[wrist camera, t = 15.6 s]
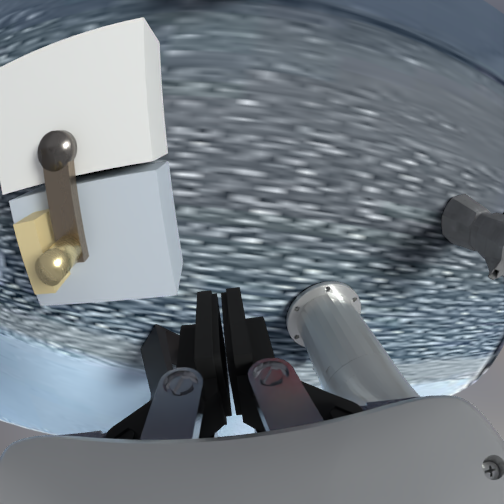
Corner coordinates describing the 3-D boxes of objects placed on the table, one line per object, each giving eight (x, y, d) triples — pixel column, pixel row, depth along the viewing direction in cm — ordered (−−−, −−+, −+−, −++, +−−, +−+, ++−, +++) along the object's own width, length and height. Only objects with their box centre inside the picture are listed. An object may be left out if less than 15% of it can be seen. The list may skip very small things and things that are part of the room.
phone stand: (141, 347, 47) (128, 401, 36) (155, 323, 46) (144, 377, 35) (188, 369, 50) (185, 423, 39) (205, 347, 48) (206, 402, 37)
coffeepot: (440, 259, 48) (506, 309, 32) (425, 218, 45) (502, 264, 28) (489, 211, 46) (557, 246, 29) (479, 171, 42) (555, 198, 26)
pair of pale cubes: (183, 262, 42) (173, 317, 30) (65, 275, 41) (26, 325, 28) (159, 42, 30) (135, 5, 18) (32, 78, 29) (-26, 69, 16)
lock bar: (43, 134, 24) (7, 139, 18) (75, 126, 24) (43, 128, 18) (62, 258, 29) (36, 286, 23) (93, 256, 29) (70, 285, 23)
